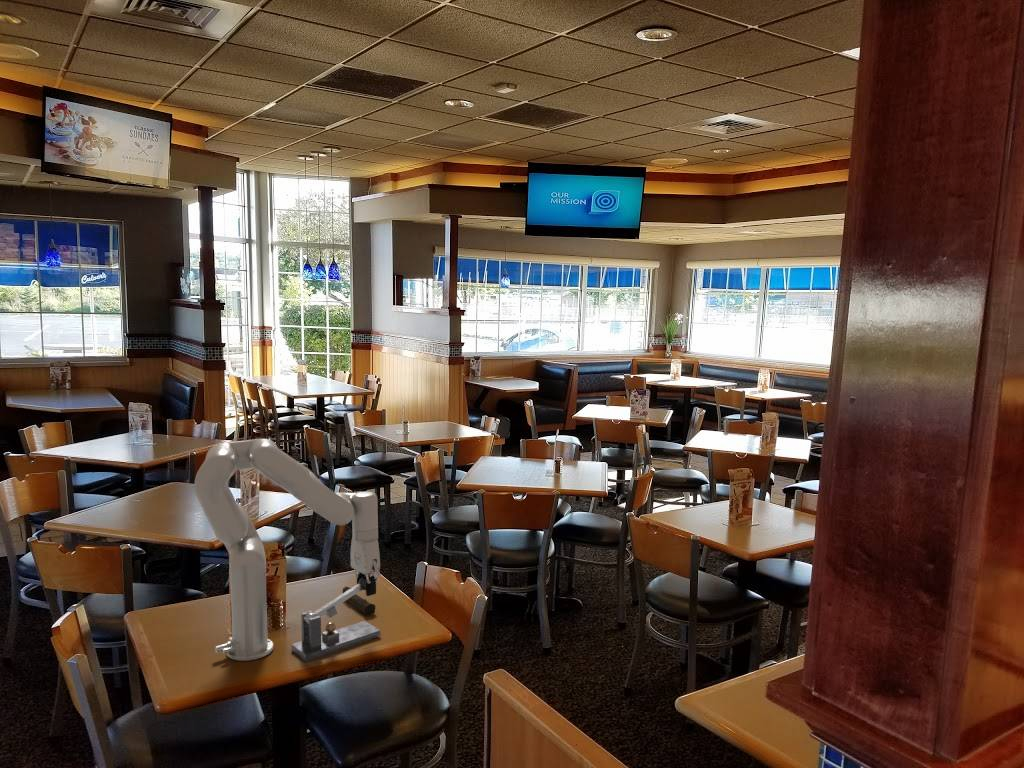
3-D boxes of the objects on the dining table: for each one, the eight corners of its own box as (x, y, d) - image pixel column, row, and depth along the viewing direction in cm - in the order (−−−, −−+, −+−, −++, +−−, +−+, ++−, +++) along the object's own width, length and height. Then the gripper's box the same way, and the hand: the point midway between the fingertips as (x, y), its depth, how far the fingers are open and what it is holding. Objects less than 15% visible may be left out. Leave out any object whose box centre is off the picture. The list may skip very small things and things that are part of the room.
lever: (313, 631, 207) (307, 617, 205) (305, 626, 210) (300, 612, 209) (378, 588, 221) (373, 574, 219) (370, 584, 224) (366, 570, 222)
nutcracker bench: (306, 661, 204) (305, 624, 203) (291, 650, 210) (290, 613, 209) (380, 636, 220) (379, 601, 219) (364, 626, 226) (364, 592, 225)
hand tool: (376, 615, 236) (376, 601, 235) (364, 618, 233) (364, 604, 233) (351, 596, 251) (350, 583, 250) (340, 599, 249) (339, 586, 248)
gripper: (340, 529, 222) (341, 587, 224) (369, 542, 210) (370, 604, 212) (361, 524, 227) (363, 581, 229) (391, 537, 215) (392, 597, 217)
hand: (366, 591), depth 220 cm, fingers closed on lever, 4 cm apart
